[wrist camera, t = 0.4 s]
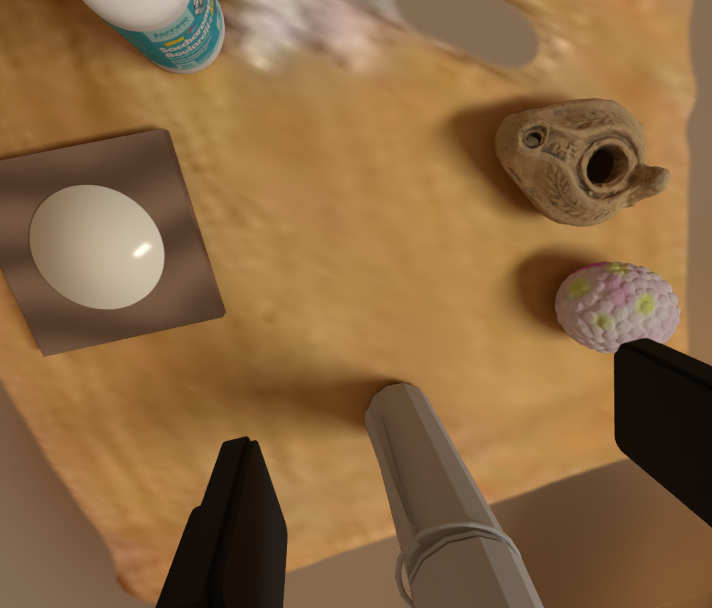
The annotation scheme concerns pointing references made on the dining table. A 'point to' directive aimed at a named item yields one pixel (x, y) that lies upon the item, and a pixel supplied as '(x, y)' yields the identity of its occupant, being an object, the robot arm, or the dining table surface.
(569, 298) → the decorative item
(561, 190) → the oil lamp
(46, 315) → the serving board
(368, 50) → the dining table surface
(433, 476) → the water bottle
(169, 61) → the pill bottle
